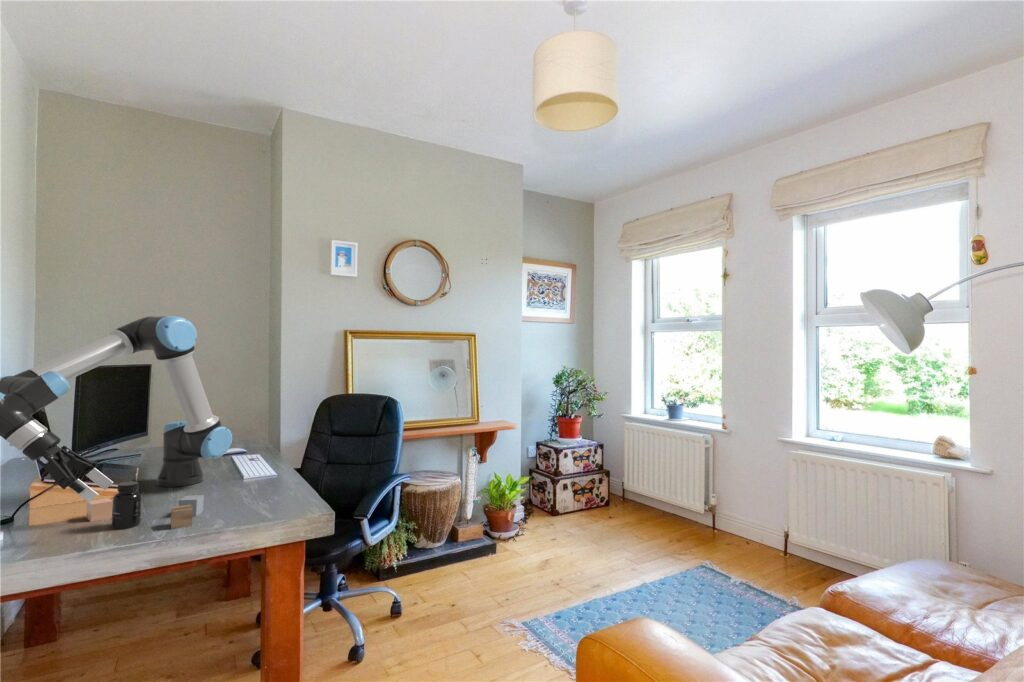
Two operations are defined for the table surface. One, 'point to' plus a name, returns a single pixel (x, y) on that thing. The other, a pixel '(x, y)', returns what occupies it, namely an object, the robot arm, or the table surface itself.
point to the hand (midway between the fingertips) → (102, 492)
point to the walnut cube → (181, 516)
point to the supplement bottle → (127, 506)
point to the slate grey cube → (193, 503)
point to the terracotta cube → (99, 509)
